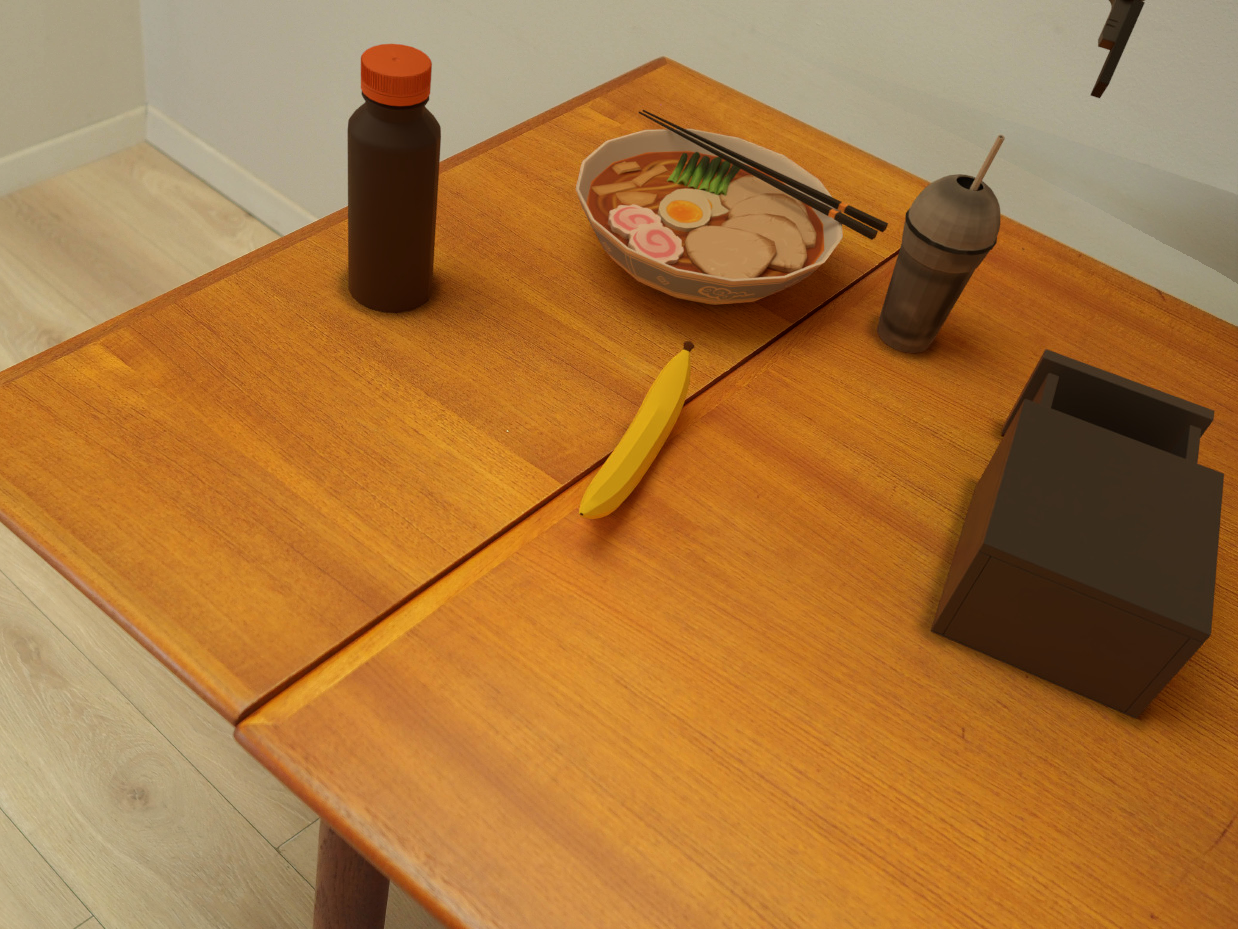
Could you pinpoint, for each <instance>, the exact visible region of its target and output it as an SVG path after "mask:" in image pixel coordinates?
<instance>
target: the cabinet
mask: <svg viewBox="0 0 1238 929" xmlns="http://www.w3.org/2000/svg"><path fill="white" fill-rule="evenodd" d="M1224 478H1225V473H1223V472H1222V471H1218V470H1215V469H1213V468H1210V467H1208V466H1205V465H1202V464H1200V463H1195V462H1192V461H1189V460H1187V459H1184V458H1181V457H1179V456H1176V455H1173V454H1171V453H1168V452H1165V451H1163V450H1160V449H1157V448H1155V447H1152V446H1150V445H1147V444H1144V443H1142V442H1139V441H1136V440H1134V439H1131V438H1128V437H1126V436H1123V435H1120V434H1118V433H1115V432H1112V431H1110V430H1107V429H1104V428H1102V427H1099V426H1096V425H1094V424H1091V423H1088V422H1086V421H1083V420H1081V419H1078V418H1075V417H1073V416H1070V415H1067V414H1065V413H1062V412H1059V411H1057V410H1054V409H1051V408H1049V407H1046V406H1043V405H1041V404H1038V403H1035V402H1033V401H1030V400H1027V399H1024V401H1023V403H1022V405H1021V406H1020V408H1019V410H1018V412H1017V414H1016V415H1015V417H1014V419H1013V421H1012V422H1011V424H1010V426H1009V428H1008V430H1007V431H1006V433H1005V435H1004V434H1003V436H1002V439H1001V440H1000V442H999V444H998V446H997V448H996V449H995V451H994V453H993V455H992V456H991V458H990V459H989V462H988V464H987V466H986V467H985V468H984V471H983V473H982V474H981V476H980V478H979V479H978V482H977V483H976V485H975V486H974V489H973V493H972V496H971V500H970V502H969V505H968V509H967V512H966V514H965V519H964V521H963V522H964V523H963V525H962V528H961V531H960V535H959V538H958V541H957V544H956V547H955V551H954V554H953V557H952V560H951V563H950V567H949V570H948V572H947V577H946V580H945V582H944V587H943V589H942V592H941V596H940V599H939V602H938V606H937V609H936V612H935V616H934V618H933V622H932V625H931V628H930V632H931V633H933V634H936V635H938V636H941V637H943V638H945V639H948V640H950V641H952V642H955V643H957V644H960V645H961V646H964V647H966V648H969V649H970V650H973V651H976V652H978V653H980V654H983V655H985V656H988V657H989V658H992V659H994V660H997V661H999V662H1001V663H1004V664H1006V665H1008V666H1010V667H1013V668H1015V669H1018V670H1020V671H1022V672H1024V673H1028V674H1030V675H1031V676H1034V677H1036V678H1039V679H1041V680H1043V681H1046V682H1048V683H1051V684H1053V685H1056V686H1058V687H1060V688H1062V689H1064V690H1067V691H1069V692H1071V693H1074V694H1077V695H1079V696H1081V697H1083V698H1085V699H1088V700H1091V701H1092V702H1095V703H1097V704H1100V705H1102V706H1105V707H1107V708H1109V709H1112V710H1114V711H1116V712H1119V713H1121V714H1123V715H1125V716H1128V717H1130V718H1133V719H1135V720H1137V719H1138V718H1139V717H1140V716H1141V715H1142V714H1143V712H1144V711H1145V710H1146V709H1147V708H1148V707H1149V706H1150V704H1151V703H1152V702H1153V701H1154V700H1155V699H1156V698H1157V696H1158V695H1159V694H1160V693H1161V692H1162V691H1163V690H1164V689H1165V688H1166V686H1168V684H1169V683H1170V682H1171V681H1172V680H1173V679H1174V678H1175V676H1176V675H1177V674H1178V673H1179V672H1180V670H1182V669H1183V667H1184V666H1185V665H1186V664H1187V663H1188V662H1189V660H1191V659H1192V657H1193V656H1194V655H1195V654H1196V653H1197V652H1198V650H1199V649H1201V647H1202V646H1203V645H1204V644H1205V642H1207V640H1208V639H1209V638H1210V637H1211V636H1212V628H1213V615H1214V603H1215V591H1216V590H1215V589H1216V579H1217V566H1218V555H1219V543H1220V529H1221V516H1222V505H1223V495H1224V494H1223V493H1224V481H1225V479H1224Z"/></svg>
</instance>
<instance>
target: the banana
mask: <svg viewBox="0 0 1238 929" xmlns="http://www.w3.org/2000/svg"><path fill="white" fill-rule="evenodd" d="M694 348H695V344H694V342H692V341H690V340H685V341H684V342H683V348H682V350H680V351H679V352H678V353H677V354H676V355H674V356H673V357H671V359H670V360H669V361H668V362H667V364H665V366H664V367H663V368H662V369H661V371H660V372H659V374H658V375H657V377H656V378H655V379H654V381H653V383H652V384H651V386H650V388H649V390H648V391H647V393H646V395H645V397H644V399H643V401H642V403H641V404H640V407H639V409H638V410H637V412H636V414H635V416H634V417H633V420H632V421H631V422H630V425H629V426H628V427H627V429H626V431H625V433H624V434H623V435H622V437H621V439H620V440H619V442H618V443H617V445H616V446H615V448H614V449H613V450H612V452H611V453H610V454H609V456H608V457H607V459H606V460H605V462H604V463H603V465H602V466H601V467H600V468H599V470H598V471H597V473H596V474H595V476H594V477H593V478H592V480H591V481H590V483H589V484H588V485H587V487H586V489H585V491H584V493H583V495H582V498H581V501H580V505H579V509H578V515H579V516H580V517H582V518H583V519H588V520H595V519H597V520H598V519H601V518H603V517H604V518H605V517H607V516H609V515H610V514H612V513H613V512H615V511H616V510H617V509H618V508H619V507H620V506H621V505H622V504H623V502H625V500H627V498H628V497H629V496H630V495H631V494H632V492H633V491H634V490H635V488H636V487H637V486H638V485H639V483H640V482H641V481H642V479H643V477H644V476H645V475H646V473H647V472H648V470H649V468H650V467H651V465H652V464H653V463H654V461H655V459H656V457H657V456H658V455H659V453H660V451H661V449H662V448H663V446H664V444H665V443H666V441H667V440H668V437H669V436H670V434H671V432H672V430H673V429H674V426H675V425H676V422H677V421H678V418H679V416H680V415H681V413H682V410H683V407H684V404H685V401H686V399H687V395H688V391H689V386H690V381H691V375H692V374H691V372H692V363H691V351H692V350H693V349H694Z"/></svg>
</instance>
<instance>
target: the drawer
mask: <svg viewBox="0 0 1238 929" xmlns="http://www.w3.org/2000/svg"><path fill="white" fill-rule="evenodd" d="M1024 399H1027V400H1030V401H1033V402H1035V403H1038V404H1041V405H1043V406H1046V407H1049V408H1051V409H1054V410H1057V411H1059V412H1062V413H1065V414H1067V415H1070V416H1073V417H1075V418H1078V419H1081V420H1083V421H1086V422H1088V423H1091V424H1094V425H1096V426H1099V427H1102V428H1104V429H1107V430H1110V431H1112V432H1115V433H1118V434H1120V435H1123V436H1126V437H1128V438H1131V439H1134V440H1136V441H1139V442H1142V443H1144V444H1147V445H1150V446H1152V447H1155V448H1157V449H1160V450H1163V451H1165V452H1168V453H1171V454H1173V455H1176V456H1179V457H1181V458H1184V459H1187V460H1189V461H1192V462H1195V463H1197V464H1199V463H1198V462H1199V454H1200V453H1199V452H1200V444H1201V438H1202V436H1203V435H1205V433H1206V431H1207V430H1208V429H1209V428H1210V426H1211V424H1212V423H1213V422H1214V420H1215V410H1214V409H1211V408H1208V407H1206V406H1203V405H1200V404H1197V403H1195V402H1192V401H1189V400H1186V399H1184V398H1182V397H1179V396H1176V395H1173V394H1171V393H1169V392H1165V391H1162V390H1160V389H1156V388H1154V387H1152V386H1148V385H1146V384H1143V383H1141V382H1137V381H1135V380H1132V379H1129V378H1126V377H1124V376H1121V375H1119V374H1117V373H1112V372H1110V371H1107V370H1105V369H1102V368H1099V367H1097V366H1094V365H1091V364H1088V363H1086V362H1083V361H1080V360H1077V359H1075V358H1072V357H1070V356H1067V355H1064V354H1061V353H1058V352H1056V351H1052V350H1050V349H1048V348H1045V349H1044V350H1043V353H1042V354H1041V356H1040V358H1039V360H1038V361H1037V363H1036V365H1035V367H1034V368H1033V371H1032V372H1031V374H1030V376H1029V377H1028V379H1027V382H1026V383H1025V385H1024V387H1023V388H1022V390H1021V392H1020V394H1019V396H1018V398H1017V399H1016V401H1015V403H1014V405H1013V406H1012V409H1011V411H1010V412H1009V413H1008V416H1007V417H1006V419H1005V422H1004V423H1003V425H1002V428H1001V432H1000V434H1001V435H1003V436H1004V435H1005V433H1006V431H1007V430H1008V428H1009V426H1010V424H1011V422H1012V421H1013V419H1014V417H1015V415H1016V414H1017V412H1018V410H1019V408H1020V406H1021V405H1022V403H1023V401H1024Z"/></svg>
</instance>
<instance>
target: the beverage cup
mask: <svg viewBox="0 0 1238 929" xmlns="http://www.w3.org/2000/svg"><path fill="white" fill-rule="evenodd" d="M1005 140H1006V136H1004V135H1003V134H998V135H997V137H996V139H995V141H994V143H993V145H992V146H991V148H990V150H989V152H988V154H987V155H986V158H985V160H984V161H983V163H982V165H981V167H980V169H979V171H978V172H977V174H976V176H973V175H968V174H960V173H959V174H949V175H945V176H943V177H940V178H938V179H936V180H934V181H932V182H930V183H929V184H928V185H926V186H925V188H923V189H922V190H921V192H919V194H917V196H916V197H915V199H914V200H913V202H912V203H911V205H910V207H909V208H908V209H907V211H906V212H905V217H904V218H905V219H904V223H903V231H902V235H901V244H900V247H899V251H898V254H897V258H896V260H895V264H894V267H893V270H892V274H891V277H890V281H889V284H888V287H887V290H886V294H885V297H884V301H883V304H882V307H881V310H880V314H879V316H878V317H879V318H878V324H877V327H876V328H877V329H876V333H877V335H878V337H879V339H880V340H882V342H883V344H885V345H887V346H888V347H890V348H892V349H894V350H895V351H899V352H903V353H906V354H907V353H908V354H918V353H923V352H924V351H927V350H928V348H930V346H931V345H932V343H933V342H934V341H935V339H936V338H937V336H938V334H939V332H940V331H941V329H942V327H943V326H944V324H945V322H946V321H947V319H948V317H949V316H950V314H951V312H952V310H953V309H954V307H955V305H956V304H957V302H958V300H959V299H960V297H961V295H962V294H963V292H964V290H965V288H966V287H967V285H968V283H969V281H970V279H971V278H972V276H973V274H974V273H975V271H976V269H978V268H979V267H980V265H981V264H982V263H983V261H984V260H985V258H986V257H987V256H988V254H989V253H990V252H991V251H992V250H993V249H994V248H995V246H996V245H997V241H998V235H999V232H1000V228H1001V205H1000V202H999V200H998V197H997V195H996V194H995V192H994V191H993V188H991V187H990V186H988V184H987V183H986V182H984V178H985V176H986V174H987V172H988V171H989V169H990V167H991V166H992V163H993V162H994V159H995V158H996V157H997V154H998V153H999V151H1000V148H1001V146H1002V145H1003V143H1004V141H1005Z"/></svg>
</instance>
